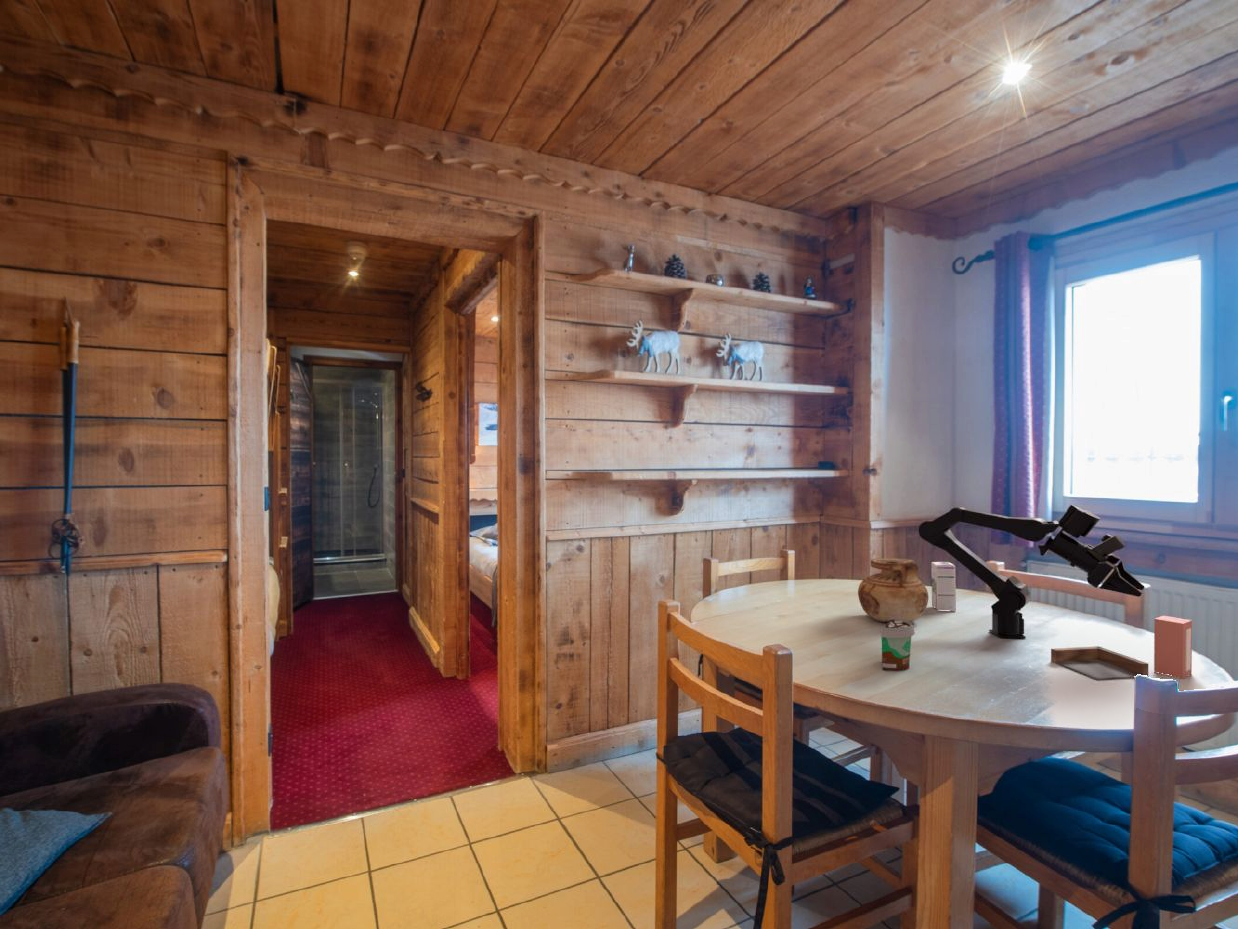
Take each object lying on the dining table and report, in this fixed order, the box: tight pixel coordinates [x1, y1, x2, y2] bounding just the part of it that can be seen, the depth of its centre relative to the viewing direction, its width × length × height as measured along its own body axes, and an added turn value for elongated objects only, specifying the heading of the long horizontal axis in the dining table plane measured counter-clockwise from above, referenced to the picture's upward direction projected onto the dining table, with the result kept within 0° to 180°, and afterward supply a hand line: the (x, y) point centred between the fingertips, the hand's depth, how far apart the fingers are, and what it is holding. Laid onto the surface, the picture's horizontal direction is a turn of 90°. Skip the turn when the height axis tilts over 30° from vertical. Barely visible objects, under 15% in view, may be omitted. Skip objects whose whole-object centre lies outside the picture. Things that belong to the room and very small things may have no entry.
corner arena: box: [1050, 645, 1149, 681], centre depth 143 cm, size 12×12×3 cm
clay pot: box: [857, 557, 929, 623], centre depth 186 cm, size 19×19×20 cm
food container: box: [880, 616, 916, 672], centre depth 146 cm, size 12×6×10 cm, turn 148°
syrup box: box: [931, 561, 957, 612], centre depth 198 cm, size 6×6×14 cm
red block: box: [1153, 615, 1193, 679], centre depth 140 cm, size 5×5×12 cm
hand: (1142, 591), depth 151 cm, fingers open, 9 cm apart
